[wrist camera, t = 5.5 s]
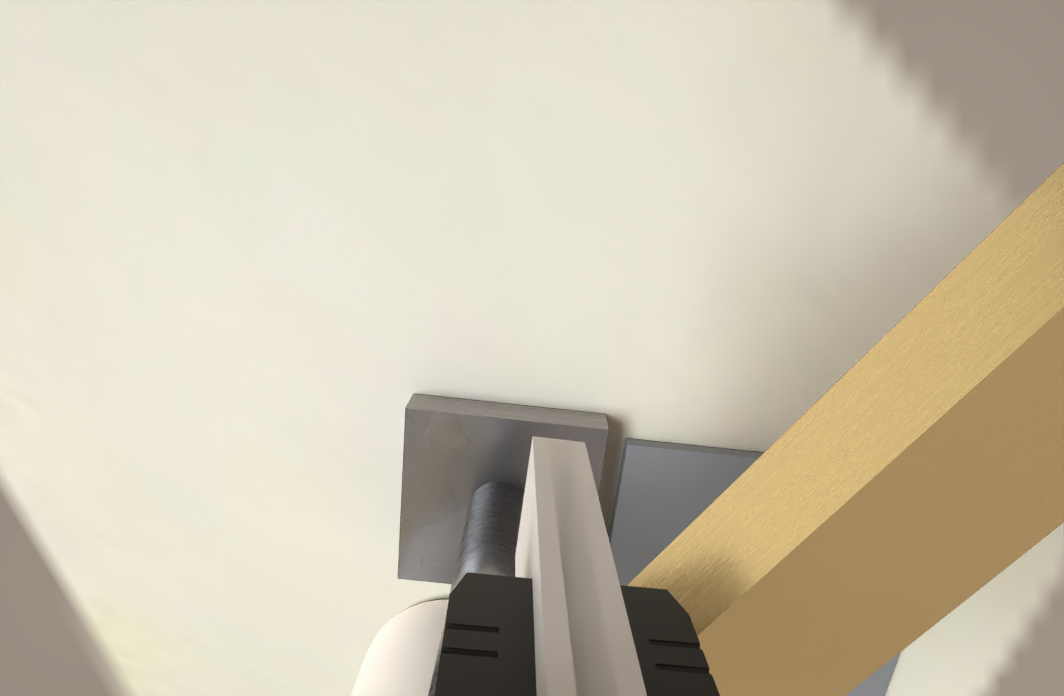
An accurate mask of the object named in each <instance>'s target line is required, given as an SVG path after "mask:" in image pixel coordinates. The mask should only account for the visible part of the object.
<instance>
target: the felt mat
mask: <svg viewBox="0 0 1064 696" xmlns="http://www.w3.org/2000/svg"><path fill="white" fill-rule="evenodd" d="M762 454H764V453H761V452H751V451H742V450H732V449H723V448H713V447H704V446H694V445H685V444H675V443H666V442H656V441H647V440H637V439H628V438H626V439H625V445H624V451H623V457H622V463H621V469H620V475H619V481H618V487H617V492H616V498H615V504H614V510H613V516H612V522H611V528H610V534H609V542H610V547H611V551H612V555H613V559H614V563H615V567H616V571H617V575H618V579H619V583H620V585H624V586H627V585H628V584H629V583H630V582H631V581H632V580H633V579H634V578H635V577H636V576H638V575H639V574H640V573H641V572H642V571H643V570H644V569H645V568H646V567H647V566H648V565H649V564H650V563H651V562H652V561H653V560H654V559H655V558H656V557H657V556H658V555H659V554H660V553H661V552H662V551H663V550H664V549H665V548H666V547H667V546H668V545H670V544H671V543H672V542H673V541H674V540H675V539H676V538H677V537H678V536H679V535H680V534H681V533H682V532H683V531H684V530H685V529H686V528H687V527H688V526H689V525H690V524H691V523H692V522H693V521H694V520H695V519H696V518H697V517H698V516H699V515H701V514H702V513H703V512H704V511H705V510H706V509H707V508H708V507H709V506H710V505H711V504H712V503H713V502H714V501H715V500H716V499H717V498H718V497H719V496H720V495H721V494H722V493H723V492H724V491H725V490H726V489H727V488H728V487H729V486H730V485H732V484H733V483H734V482H735V481H736V480H737V479H738V478H739V477H740V476H741V475H742V474H743V473H744V472H745V471H746V470H747V469H748V468H749V467H750V466H751V465H752V464H753V463H754V462H755V461H756V460H757V459H758V458H759V457H760V456H761V455H762ZM899 655H900V653H898V654H897V655H896V656H895V657H893V658H892V659H891V660H889V661H888V662H887V663H886V664H884V665H883V666H882V667H881V668H879V669H878V670H877V671H876V672H874V673H873V674H872V675H871V676H869V677H868V678H867V679H866V680H864V681H863V682H862V683H861V684H859V685H858V686H857V687H855V688H854V689H853V690H852V691H850V692H849V693H848V694H847V695H845V696H885V693H886V691H887V688H888V685H889V682H890V680H891V677H892V674H893V671H894V669H895V666H896V663H897V660H898V658H899Z"/></svg>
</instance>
